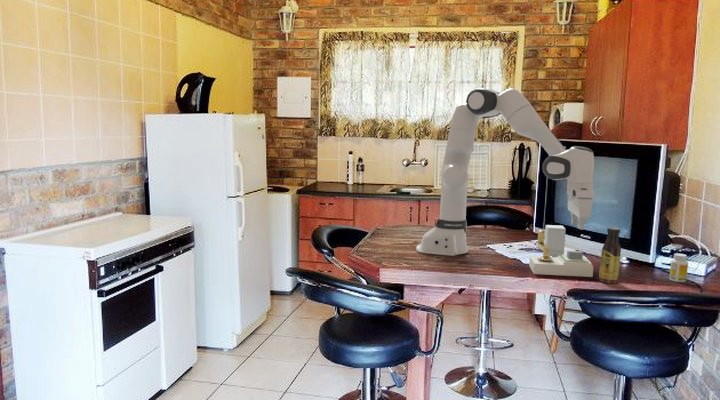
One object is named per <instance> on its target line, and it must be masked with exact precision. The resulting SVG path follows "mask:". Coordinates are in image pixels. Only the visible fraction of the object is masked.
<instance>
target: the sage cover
mask: <svg viewBox="0 0 720 400" xmlns="http://www.w3.org/2000/svg"><path fill="white" fill-rule="evenodd" d="M583 255H584V252H583V251H581V250H567V251H566V254H564V255H561V258H562V259H563V260H564V261H565V262H580V263H588V260H589V259H588V258H587V259H588V260H587V259H585V258H584V257H585V256H583Z"/></svg>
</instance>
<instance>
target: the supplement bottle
mask: <svg viewBox="0 0 720 400" xmlns="http://www.w3.org/2000/svg"><path fill="white" fill-rule="evenodd" d="M687 258H688V256H687V254H684V253H674V254H673V259H672V260H671V261H670V269H669V276H668V277H669V281H673V282H676V283H685V282H687V277H688V270H689V269H688V268H689V262H688V261H687Z"/></svg>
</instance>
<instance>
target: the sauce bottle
mask: <svg viewBox="0 0 720 400" xmlns="http://www.w3.org/2000/svg"><path fill="white" fill-rule="evenodd" d="M620 233H621V228H619V227H614V226H609V227H607V234H606V235H607V236H606V240H605V242H604V243H603V247H602V248H601V255H600V263H599V273H598V276H599V278H598V280H599V281H600V282H602V283H604V284H610V285H611V284H612V285H613V284H617V283H618V279H619V272H620V265H621V251H622V246H621V245H620V242H619V241H620V239H619V238H620Z"/></svg>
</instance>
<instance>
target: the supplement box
mask: <svg viewBox="0 0 720 400" xmlns="http://www.w3.org/2000/svg"><path fill="white" fill-rule="evenodd" d="M544 231H545V237H544V244H545V245H547V246H548V247H550V249H549V256H552V257H555V258H556V257H558V255H559V256H561V255H565V247H566V245H565V242H566V228H565V227H564V225H561V224H560V225H559V224H558V225H557V224H556V225H554V224H553V225H552V224H545V227H544Z"/></svg>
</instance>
